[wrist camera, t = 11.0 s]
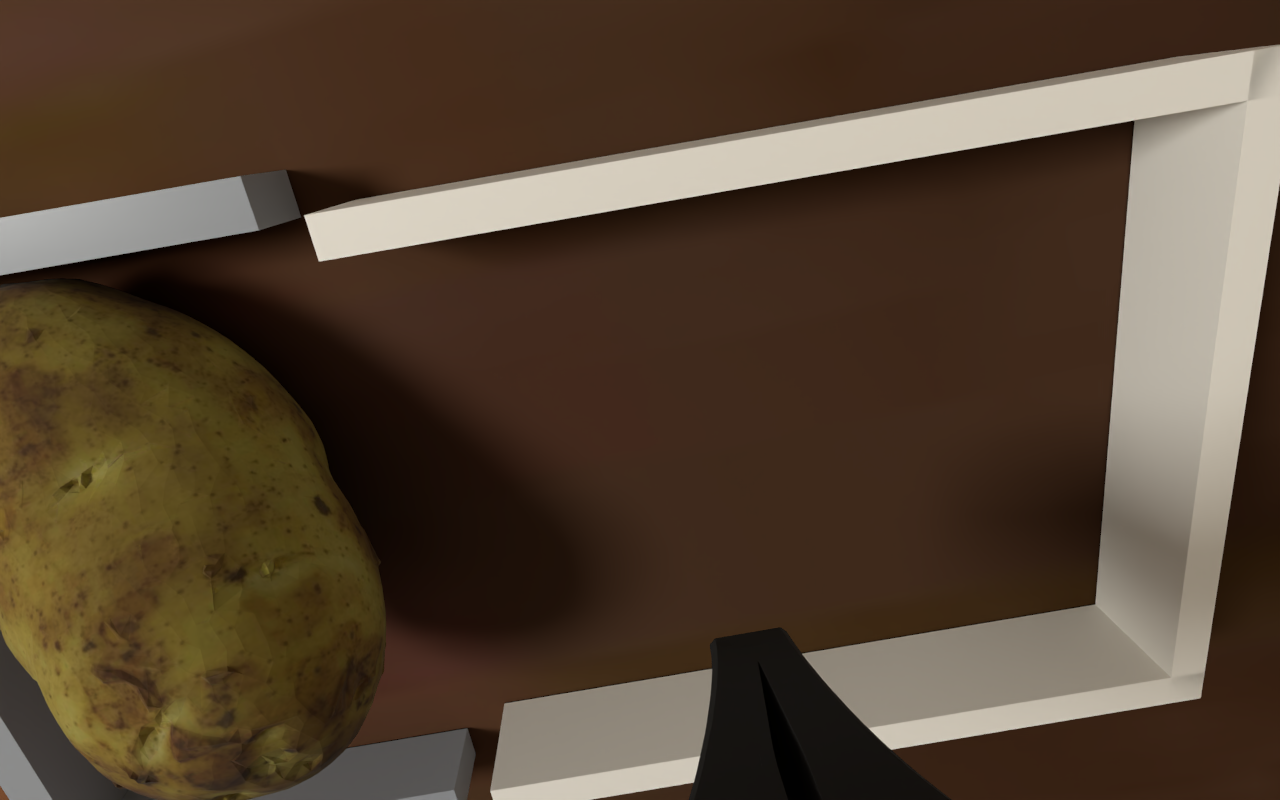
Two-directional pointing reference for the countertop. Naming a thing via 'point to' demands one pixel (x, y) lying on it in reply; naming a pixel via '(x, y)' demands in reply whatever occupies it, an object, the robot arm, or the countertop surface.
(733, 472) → the countertop surface
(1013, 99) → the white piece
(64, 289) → the potato
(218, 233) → the frame
